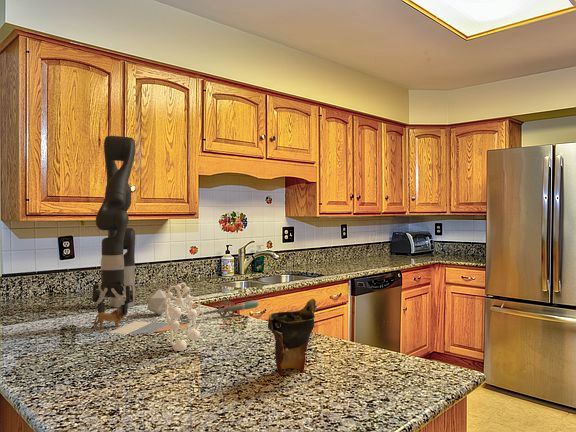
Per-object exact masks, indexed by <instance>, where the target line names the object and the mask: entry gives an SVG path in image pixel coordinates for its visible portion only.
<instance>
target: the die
mask: <svg viewBox="0 0 576 432" xmlns="http://www.w3.org/2000/svg"><path fill="white" fill-rule="evenodd" d="M167 293H168V292H165V291H163V290H161V289H158V290H155V292H153V293H151V294H149V295H148V296H147V297H148V298H147V300H148V301H147V310H149V311H150V312H153V313H155V314H156V315H158V316H161V315H162V314H164V313H165V309H166V305H165V302H164V301H165V298H166V294H167ZM171 300H172V298H167V300H166V303H168V302H172V301H171ZM170 309H171V308H168V311H170Z"/></svg>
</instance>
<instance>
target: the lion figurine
mask: <svg viewBox="0 0 576 432" xmlns="http://www.w3.org/2000/svg"><path fill="white" fill-rule="evenodd" d="M127 316H128V313H127V314H126V315H125V316H121V306H120V307H119V308H115V309H114V310H113V311H112V312H105V313H104V312H102V313H97V315H96V317H95V319H94V323H93V325H92V326H91V328H90V329H97V328H100V329H101V330H105V327H103V324H104V321H106V322H108V323H109V322H114V327H116V328H120V326H119V325H120V322H119V321H124V318H125V317H127ZM98 324H99V326H98Z"/></svg>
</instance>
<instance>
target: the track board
mask: <svg viewBox="0 0 576 432" xmlns="http://www.w3.org/2000/svg"><path fill="white" fill-rule="evenodd" d="M119 323H128V324H125V325H123V326H121V327H120V326H119V327H117V328H116V329H113V330H111V331H98V330H97V331H96V330H90V331H89V333H104V334H122V335H123V334H125V335H126V334H127V335H140V334H147V333H153V332H162V331H169V330H171V328H170V325H169V323H168V322H153V321H151V322H150V321H135V320H134V321H132V320H131V321H130V320H120V321H119ZM188 325H189V324H188V323H179V328H178V329H183V328H184V327H187V326H188ZM178 329H177V330H178Z"/></svg>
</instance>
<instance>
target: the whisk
mask: <svg viewBox="0 0 576 432" xmlns="http://www.w3.org/2000/svg"><path fill="white" fill-rule="evenodd" d="M222 304H223V305H224V307H221V306H222ZM227 304H230V305H228V306H227ZM258 306H259V301H258V300H255V299H253V300H250V301H249V300H248V301H245V302H244V301H243V302H241V303H237V304H234V303H233V302H231V301H230V300H223V301H221V302H220V303H219V304H218V308H217V309H215V310H211V311H205V312H204V311H203V314H204V316H205V315H210V314H214V313H217V314H219V315H220V316H221V317H222V318H223V319H226V318H225V317H226V314H227V313H228V316H227V317H230V318H232V316H233V315H234V314H235V311H236V312H237V311H242V310H251V309H256V308H257V307H258ZM231 312H232V313H231ZM184 313H187V311H185V312H184ZM200 316H202V313H201V312H200V314H199V315H198V316H197V317H200ZM179 320H180V321H181V322H183V323H184V322H190V321H192V319H189V318H188V317H187V315H182V314H181V316H180V317H179Z"/></svg>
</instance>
